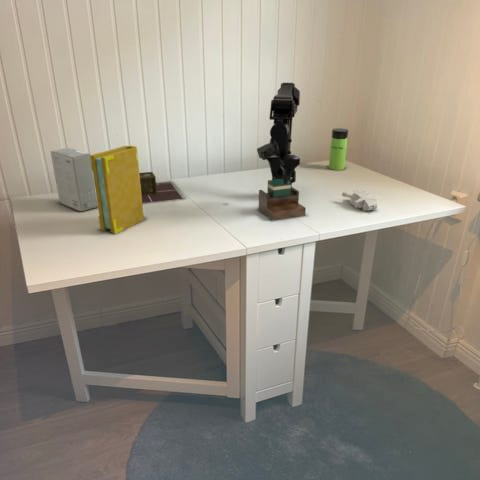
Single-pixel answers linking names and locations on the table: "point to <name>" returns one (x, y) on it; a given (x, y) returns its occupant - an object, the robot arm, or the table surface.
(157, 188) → the wooden crate
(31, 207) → the table surface
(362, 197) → the bunny figurine
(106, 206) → the book
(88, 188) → the hard drive box
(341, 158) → the tumbler
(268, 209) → the step shelf
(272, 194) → the tea packet
